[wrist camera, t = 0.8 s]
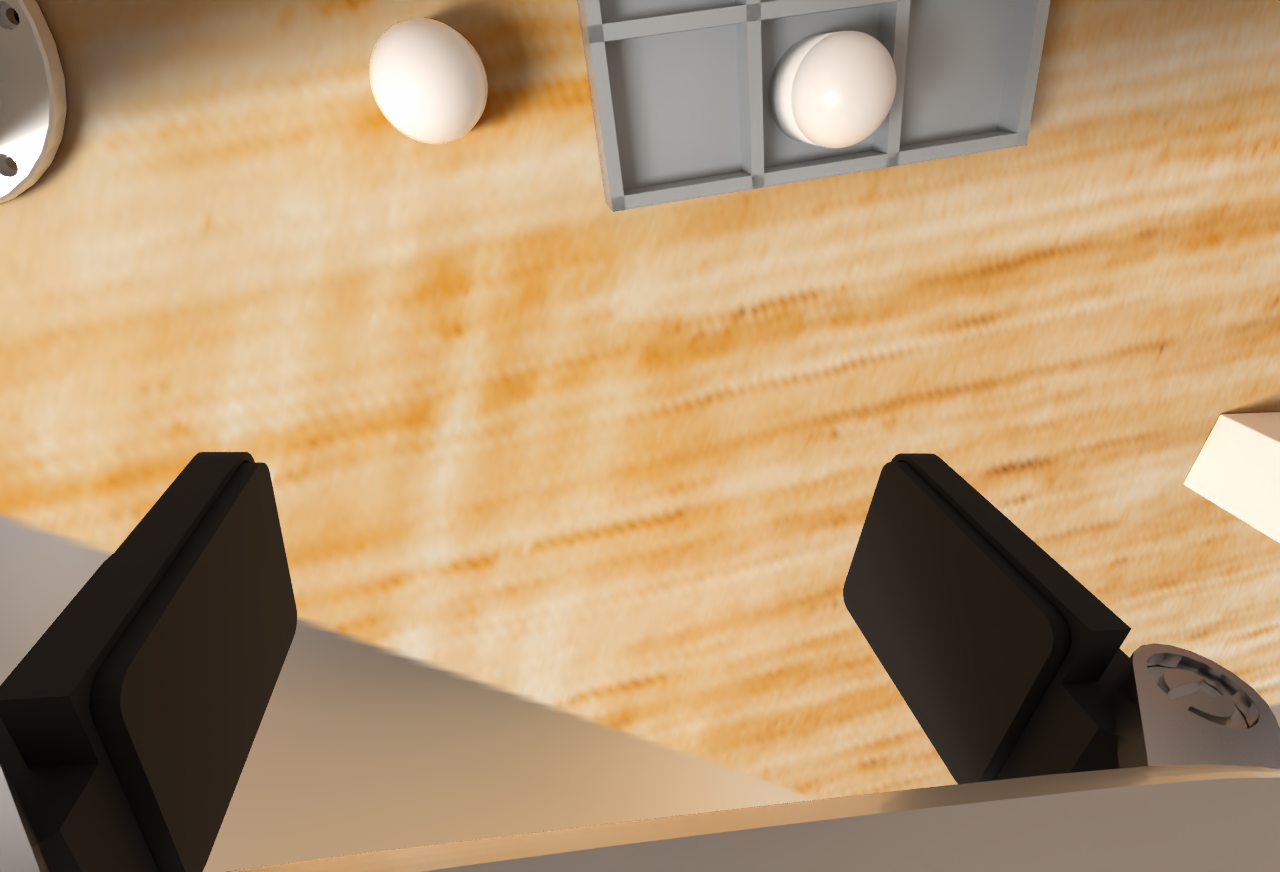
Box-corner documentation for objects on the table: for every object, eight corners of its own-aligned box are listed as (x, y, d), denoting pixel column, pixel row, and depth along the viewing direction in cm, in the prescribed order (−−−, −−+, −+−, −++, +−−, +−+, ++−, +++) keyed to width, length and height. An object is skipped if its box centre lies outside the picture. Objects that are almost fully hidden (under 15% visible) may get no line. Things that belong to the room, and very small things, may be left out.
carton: (606, 202, 32) (624, 227, 26) (552, -173, 25) (563, -239, 20) (993, 140, 33) (1081, 152, 28) (1045, -226, 26) (1174, -299, 21)
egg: (400, 145, 29) (381, 157, 25) (368, 30, 27) (340, 21, 22) (498, 130, 29) (496, 140, 25) (474, 15, 27) (467, 5, 23)
